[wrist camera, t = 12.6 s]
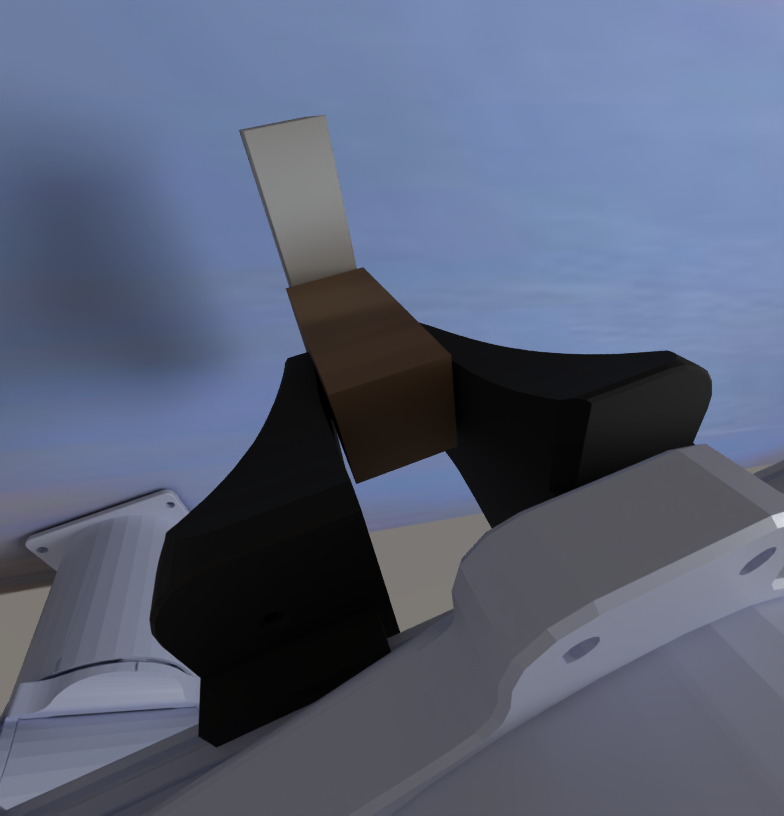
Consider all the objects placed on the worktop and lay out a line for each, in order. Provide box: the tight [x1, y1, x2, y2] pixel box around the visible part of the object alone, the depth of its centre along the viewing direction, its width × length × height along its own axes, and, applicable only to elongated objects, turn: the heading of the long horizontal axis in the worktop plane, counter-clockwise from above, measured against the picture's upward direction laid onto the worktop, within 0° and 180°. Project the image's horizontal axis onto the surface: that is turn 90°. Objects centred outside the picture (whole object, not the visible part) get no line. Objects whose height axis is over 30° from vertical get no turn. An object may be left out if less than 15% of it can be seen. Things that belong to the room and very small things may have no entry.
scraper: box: [239, 115, 457, 484], centre depth 11 cm, size 10×2×9 cm, turn 10°
